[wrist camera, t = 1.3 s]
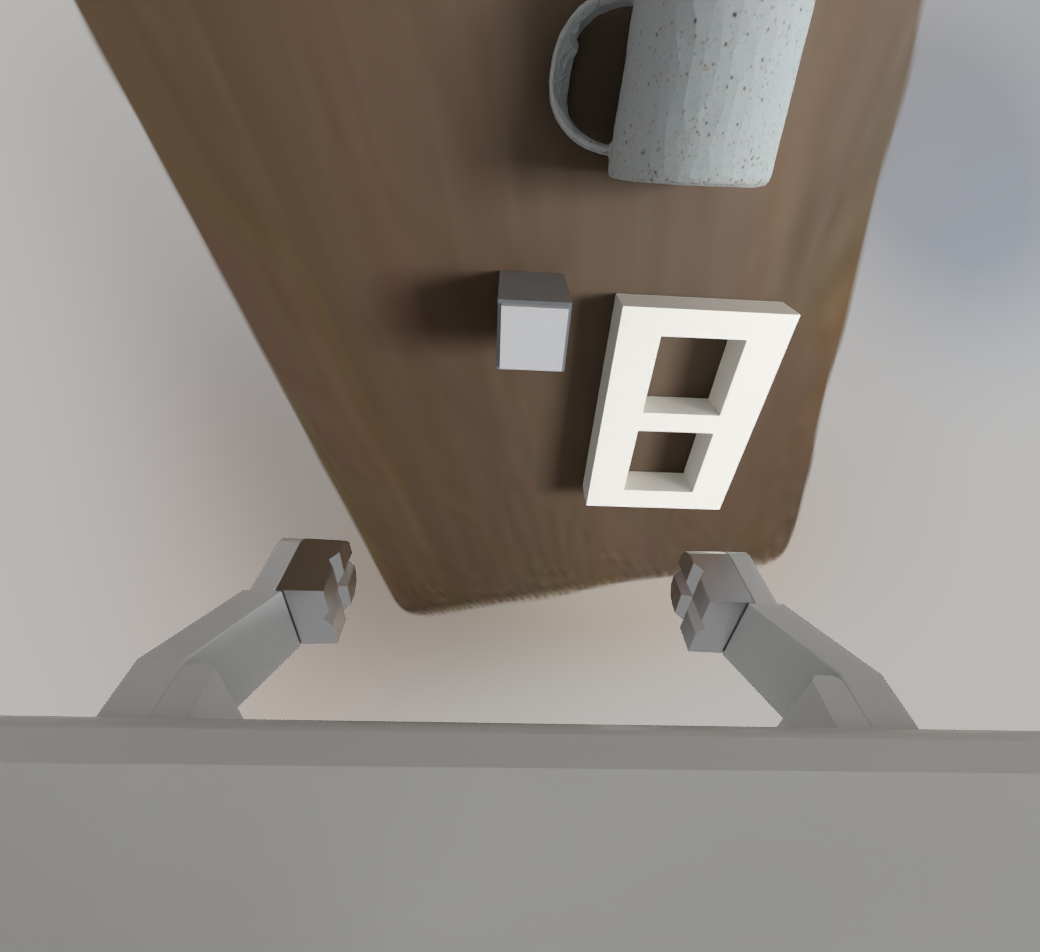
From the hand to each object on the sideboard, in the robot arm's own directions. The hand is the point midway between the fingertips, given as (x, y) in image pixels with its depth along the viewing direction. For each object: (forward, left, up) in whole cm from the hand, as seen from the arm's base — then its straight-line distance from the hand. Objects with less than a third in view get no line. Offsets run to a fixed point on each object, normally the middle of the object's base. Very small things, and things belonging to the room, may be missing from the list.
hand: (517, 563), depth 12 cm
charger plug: (+1, +1, -23) cm, 23 cm away
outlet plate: (+8, +12, -23) cm, 28 cm away
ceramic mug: (-10, +7, -24) cm, 27 cm away
